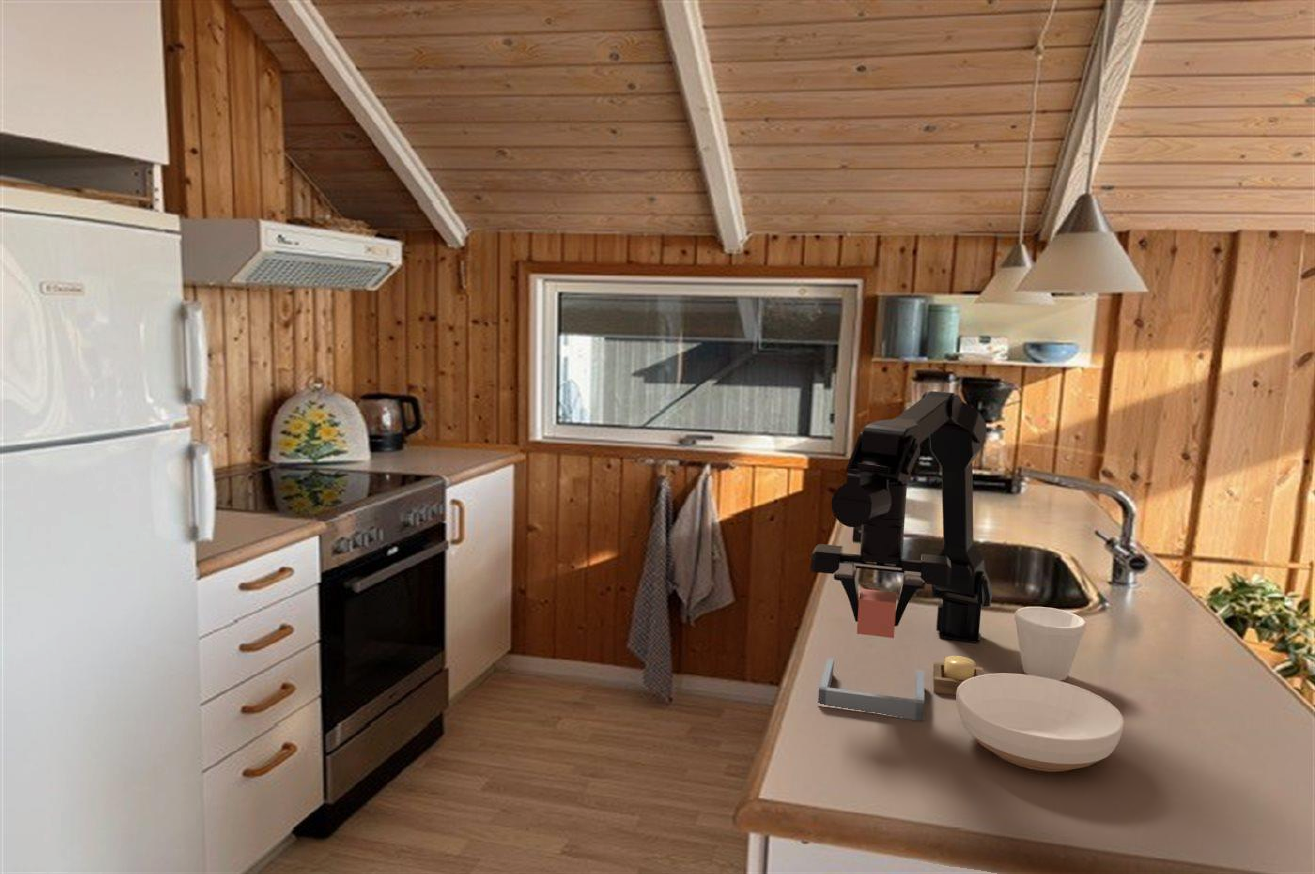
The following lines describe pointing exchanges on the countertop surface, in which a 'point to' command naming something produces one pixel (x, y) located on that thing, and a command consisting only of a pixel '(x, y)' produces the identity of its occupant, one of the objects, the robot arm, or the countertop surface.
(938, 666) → the housing
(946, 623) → the robot arm
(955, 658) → the pale yellow rounded block
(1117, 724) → the bowl
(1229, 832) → the countertop surface
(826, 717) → the countertop surface
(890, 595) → the cube
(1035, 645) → the cup
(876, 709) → the pocket
